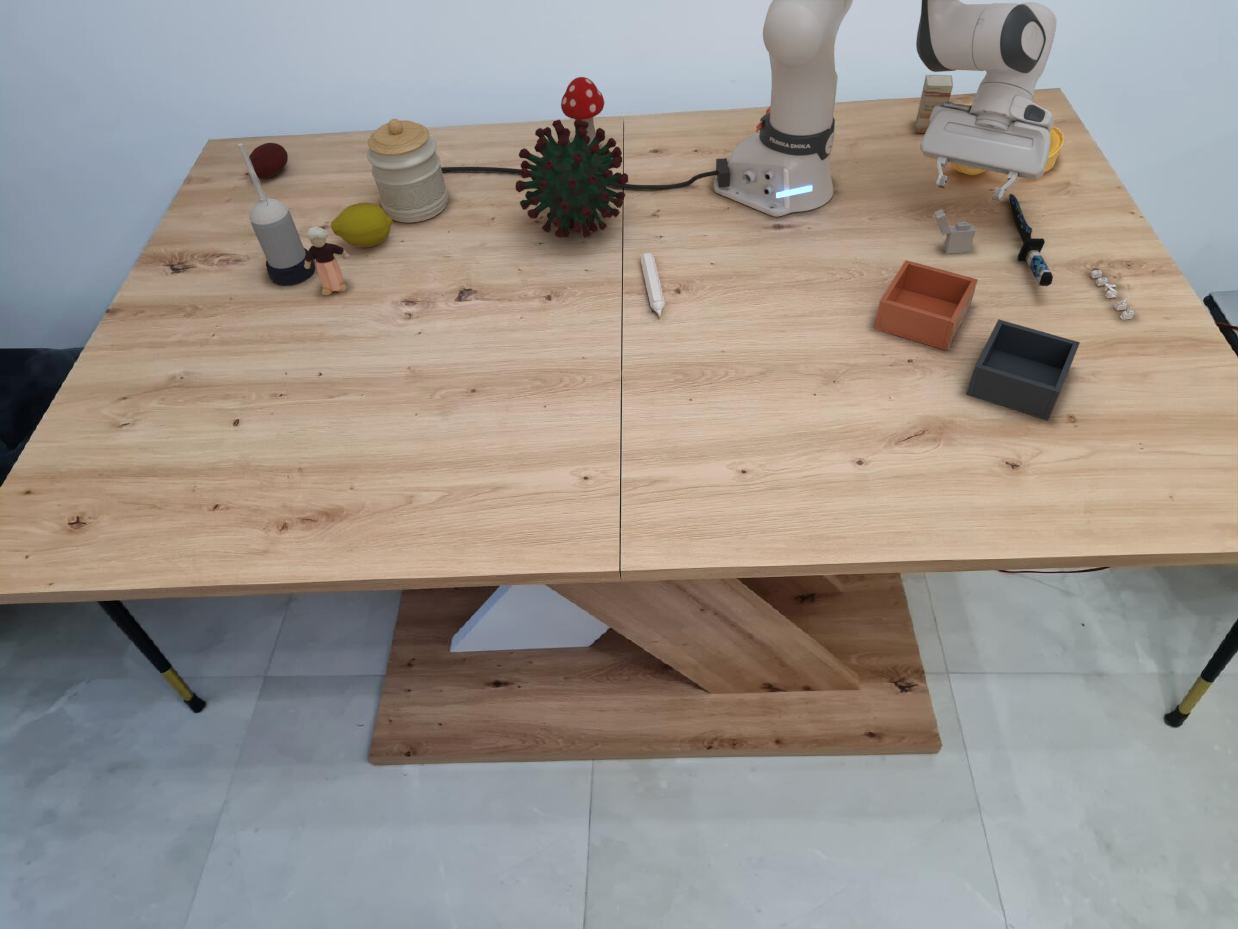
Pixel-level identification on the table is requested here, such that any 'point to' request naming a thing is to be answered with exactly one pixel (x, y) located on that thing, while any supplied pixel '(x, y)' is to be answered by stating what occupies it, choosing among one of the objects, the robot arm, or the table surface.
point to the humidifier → (277, 236)
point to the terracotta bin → (925, 304)
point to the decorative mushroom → (583, 102)
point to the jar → (407, 171)
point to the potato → (268, 159)
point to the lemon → (362, 225)
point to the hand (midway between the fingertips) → (967, 193)
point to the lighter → (955, 234)
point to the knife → (1030, 246)
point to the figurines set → (1113, 295)
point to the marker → (652, 283)
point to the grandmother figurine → (325, 261)
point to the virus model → (572, 179)
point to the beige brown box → (932, 98)
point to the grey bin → (1022, 369)
